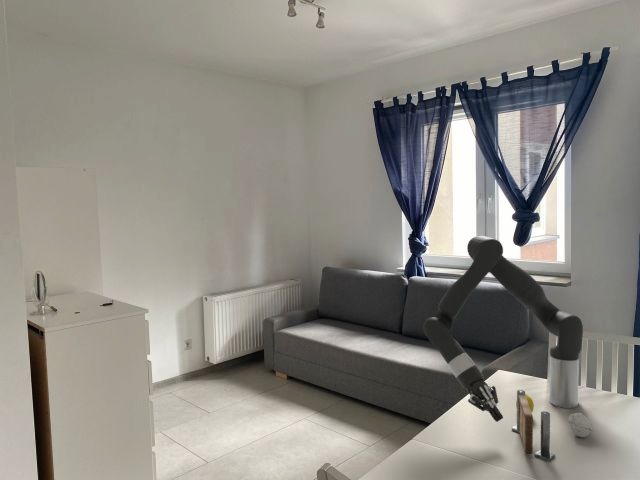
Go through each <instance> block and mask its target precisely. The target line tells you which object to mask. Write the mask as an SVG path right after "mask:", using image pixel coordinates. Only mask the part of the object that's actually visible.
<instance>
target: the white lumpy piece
mask: <svg viewBox="0 0 640 480" xmlns="http://www.w3.org/2000/svg"><path fill="white" fill-rule="evenodd" d="M568 424H569V427H570V428H571V431H572V432H573V434H574V435H575V436H576V437H579V438H586V437H588V436H589V435H590V433H591V432H592V428H593V426H592V424H591V422H590V420H589V419H588V418H587V417H586V416H585V415H584V414H583V413H581V412H574V413H571V414H569V416H568Z"/></svg>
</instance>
